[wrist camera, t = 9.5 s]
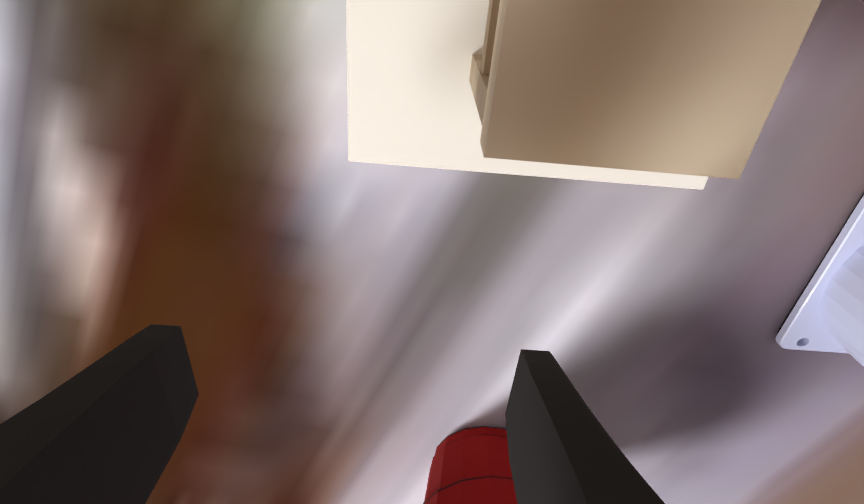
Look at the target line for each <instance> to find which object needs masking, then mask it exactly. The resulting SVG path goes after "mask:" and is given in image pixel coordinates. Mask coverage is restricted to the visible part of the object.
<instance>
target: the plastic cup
mask: <svg viewBox="0 0 864 504" xmlns="http://www.w3.org/2000/svg"><path fill="white" fill-rule="evenodd" d="M423 504H517V499H516V493H515V488H514V483H513V478H512V472H511V467H510V462H509V452H508V441H507V430H505V429H500V428H492V427H478V428H471V429H464V430H462V431H459V432H457V433H455V434H453V435H451V436H448V437H447V438H446V439H445V440H444V441H443V442H442V443H441V444H440V445H439V446H438V447H437V449H436V453H435V456H434V457H433V460H432V464H431V468H430V473H429V478H428V484H427V490H426V495H425V501H424V503H423Z"/></svg>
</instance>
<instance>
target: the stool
mask: <svg viewBox="0 0 864 504" xmlns="http://www.w3.org/2000/svg"><path fill="white" fill-rule="evenodd" d="M820 2H821V0H489V7H488V14H487V22H486V30H485V37H484V45H483V52H482V55H478V54H472V61H471V69H470V77H469V82H470V85H471V89H472V92H473V96H474V99H475V103H476V107H477V110H478V114H479V117H480V121H481V124H482V130H481V137H480V144H481V148H482V152H483V156H484V158H496V159H508V160H519V161H531V162H543V163H554V164H566V165H578V166H589V167H601V168H613V169H624V170H636V171H648V172H659V173H671V174H683V175H694V176H706V177H718V178H730V179H739V178H740V176H741V174H742V172H743V169H744V167H745V165H746V163H747V161H748V159H749V156H750V154H751V152H752V150H753V148H754V146H755V143H756V141H757V139H758V137H759V135H760V133H761V130H762V128H763V126H764V124H765V122H766V120H767V117H768V115H769V113H770V111H771V109H772V107H773V104H774V102H775V100H776V98H777V96H778V94H779V91H780V89H781V87H782V85H783V83H784V81H785V78H786V76H787V74H788V72H789V70H790V68H791V65H792V63H793V61H794V59H795V57H796V55H797V52H798V50H799V48H800V46H801V44H802V41H803V39H804V37H805V35H806V33H807V31H808V28H809V26H810V24H811V22H812V20H813V18H814V15H815V13H816V11H817V9H818V7H819V5H820Z"/></svg>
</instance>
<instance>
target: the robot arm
mask: <svg viewBox="0 0 864 504" xmlns="http://www.w3.org/2000/svg"><path fill="white" fill-rule="evenodd" d="M776 342H777V343H778V344H779V345H780V346H781V347H782V348H784V349H794V350H808V351H823V352H837V353H849V354H850V355H852V356H853V357H854V358H855V359H856V360H857V361H858V362H859V363H860V364H861V365H862V366H863V367H864V196H863V197H862V198H861V200H860V202H859V203H858V205H857V206H856V208H855V210H854V211H853V213H852V215H851V216H850V218H849V219H848V221H847V223H846V224H845V226H844V227H843V229H842V231H841V232H840V234H839V236H838V237H837V239H836V240H835V242H834V244H833V245H832V247H831V249H830V250H829V252H828V253H827V255H826V257H825V258H824V260H823V261H822V263H821V265H820V266H819V268H818V270H817V271H816V273H815V274H814V276H813V278H812V279H811V281H810V282H809V284H808V286H807V287H806V289H805V291H804V292H803V294H802V295H801V297H800V299H799V300H798V302H797V304H796V305H795V307H794V308H793V310H792V312H791V313H790V315H789V316H788V318H787V320H786V321H785V323H784V325H783V326H782V328H781V329H780V331H779V333H778V334H777V336H776ZM197 397H198V390H197V386H196V382H195V379H194V375H193V371H192V367H191V364H190V360H189V356H188V352H187V348H186V345H185V341H184V337H183V333H182V329H181V326H168V325H153V324H151V325H150V326H148V327H146V328H145V329H143V330H142V331H140V332H139V333H137V334H136V335H134V336H133V337H131V338H130V339H128V340H127V341H125V342H124V343H122V344H121V345H119V346H118V347H116V348H115V349H113V350H112V351H111V352H109V353H108V354H106V355H105V356H103V357H102V358H100V359H99V360H97V361H96V362H95V363H93V364H92V365H90V366H89V367H87V368H86V369H84V370H83V371H81V372H80V373H78V374H77V375H75V376H74V377H72V378H71V379H69V380H68V381H66V382H65V383H63V384H62V385H61V386H59V387H58V388H56V389H55V390H53V391H52V392H50V393H49V394H47V395H46V396H44V397H43V398H41V399H40V400H38V401H36V402H35V403H33V404H32V405H30V406H29V407H27V408H25V409H24V410H22V411H21V412H19V413H17V414H16V415H14V416H13V417H11V418H10V419H8V420H6V421H5V422H3V423H2V424H0V504H145V503H146V501H147V499H148V497H149V496H150V494H151V492H152V490H153V489H154V487H155V485H156V483H157V481H158V480H159V478H160V476H161V474H162V472H163V471H164V469H165V467H166V465H167V463H168V462H169V460H170V458H171V456H172V454H173V452H174V451H175V449H176V447H177V445H178V443H179V441H180V439H181V437H182V434H183V432H184V430H185V427H186V425H187V423H188V420H189V418H190V415H191V412H192V410H193V407H194V405H195V402H196V400H197ZM505 414H506V428H507V441H508V452H509V462H510V467H511V472H512V478H513V483H514V488H515V493H516V499H517V504H665V503H664V502H663V501H662V500H661V499H660V497H659V496H658V495H657V494H656V493H655V492H654V490H653V489H652V488H651V487H650V486H649V485H648V483H647V482H646V481H645V480H644V479H643V477H642V476H641V475H640V474H639V473H638V471H637V470H636V469H635V468H634V467H633V465H632V464H631V463H630V462H629V460H628V459H627V458H626V457H625V455H624V454H623V453H622V452H621V450H620V449H619V448H618V447H617V445H616V444H615V443H614V441H613V440H612V439H611V437H610V436H609V435H608V433H607V432H606V431H605V429H604V428H603V427H602V425H601V424H600V423H599V421H598V420H597V419H596V417H595V416H594V415H593V413H592V412H591V410H590V409H589V408H588V406H587V405H586V403H585V402H584V401H583V399H582V398H581V396H580V395H579V393H578V392H577V391H576V389H575V388H574V386H573V385H572V383H571V382H570V380H569V379H568V377H567V376H566V374H565V373H564V372H563V370H562V369H561V367H560V366H559V364H558V363H557V361H556V360H555V358H554V357H553V355H552V354H551V353H550V352H549V351H537V350H522V349H521V352H520V356H519V360H518V364H517V368H516V372H515V376H514V381H513V385H512V389H511V393H510V397H509V401H508V405H507V409H506V413H505Z"/></svg>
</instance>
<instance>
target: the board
mask: <svg viewBox="0 0 864 504" xmlns="http://www.w3.org/2000/svg"><path fill="white" fill-rule="evenodd" d="M488 7H489V0H346V30H347V100H348V161H352V162H364V163H377V164H389V165H402V166H414V167H426V168H439V169H451V170H464V171H476V172H489V173H501V174H514V175H526V176H539V177H551V178H564V179H576V180H589V181H601V182H614V183H626V184H638V185H651V186H663V187H676V188H688V189H701V190H703V189H704V186H705V184H706V181H707V179H708V177H706V176H694V175H683V174H671V173H659V172H648V171H636V170H624V169H613V168H601V167H589V166H578V165H566V164H554V163H543V162H531V161H519V160H508V159H496V158H484V156H483V152H482V148H481V144H480V137H481V130H482V124H481V121H480V117H479V114H478V110H477V107H476V103H475V99H474V96H473V92H472V89H471V85H470V82H469V77H470V69H471V61H472V54H478V55H482V52H483V45H484V37H485V30H486V22H487V14H488Z"/></svg>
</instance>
